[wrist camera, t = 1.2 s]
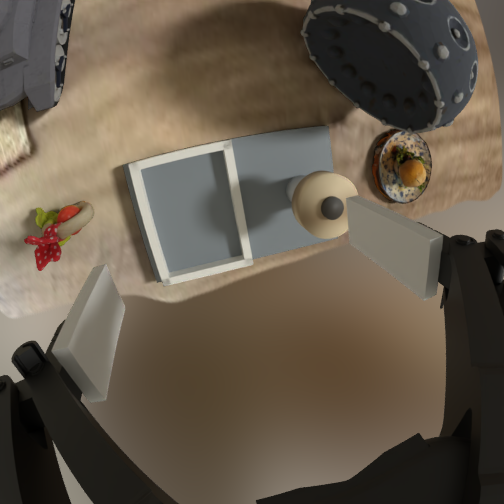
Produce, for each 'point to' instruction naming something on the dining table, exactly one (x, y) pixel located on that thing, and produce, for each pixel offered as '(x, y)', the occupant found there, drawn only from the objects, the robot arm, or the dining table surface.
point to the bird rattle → (58, 230)
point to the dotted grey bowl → (395, 58)
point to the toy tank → (33, 51)
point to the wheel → (323, 203)
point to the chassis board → (224, 201)
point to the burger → (402, 166)
